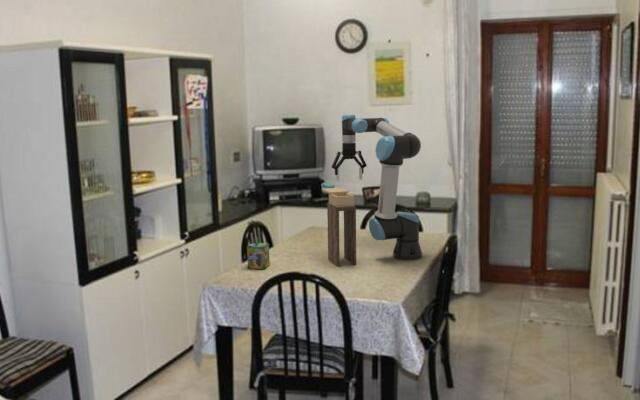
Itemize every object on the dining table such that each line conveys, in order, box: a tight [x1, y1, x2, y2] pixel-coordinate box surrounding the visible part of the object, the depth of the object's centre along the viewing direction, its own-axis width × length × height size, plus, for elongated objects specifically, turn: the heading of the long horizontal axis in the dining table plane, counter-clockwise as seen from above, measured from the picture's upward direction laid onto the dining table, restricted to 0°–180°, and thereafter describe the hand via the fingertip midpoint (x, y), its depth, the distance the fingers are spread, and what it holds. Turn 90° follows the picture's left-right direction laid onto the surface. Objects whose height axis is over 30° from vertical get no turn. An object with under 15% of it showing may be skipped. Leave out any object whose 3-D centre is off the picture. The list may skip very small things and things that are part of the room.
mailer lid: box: [320, 182, 350, 195], centre depth 330 cm, size 24×10×2 cm, turn 17°
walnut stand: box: [326, 202, 357, 268], centre depth 319 cm, size 15×10×30 cm, turn 17°
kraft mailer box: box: [328, 193, 355, 207], centre depth 317 cm, size 13×9×5 cm
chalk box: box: [246, 237, 271, 270], centre depth 315 cm, size 9×9×15 cm
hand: (349, 180), depth 356 cm, fingers open, 13 cm apart
